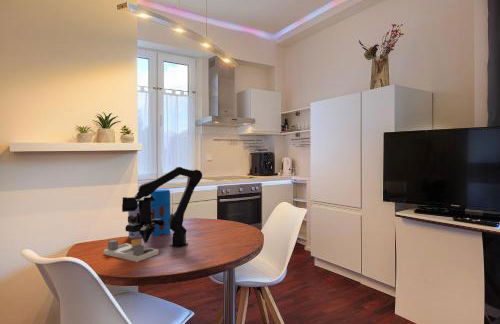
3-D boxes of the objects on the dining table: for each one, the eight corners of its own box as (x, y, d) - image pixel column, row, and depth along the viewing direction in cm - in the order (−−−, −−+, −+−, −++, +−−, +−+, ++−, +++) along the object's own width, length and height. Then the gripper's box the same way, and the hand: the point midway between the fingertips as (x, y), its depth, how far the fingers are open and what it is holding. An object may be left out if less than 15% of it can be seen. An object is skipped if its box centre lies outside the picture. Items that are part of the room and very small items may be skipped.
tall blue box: (171, 234, 176) (171, 190, 176) (151, 236, 172) (151, 191, 172) (169, 230, 186) (168, 189, 186) (150, 232, 182) (149, 190, 182)
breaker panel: (125, 247, 152) (125, 236, 152) (158, 253, 141) (158, 241, 141) (103, 254, 142) (103, 241, 142) (137, 261, 131) (136, 248, 131)
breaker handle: (136, 245, 146) (136, 238, 146) (141, 246, 145) (141, 239, 145) (131, 247, 144) (131, 239, 144) (136, 248, 142) (135, 240, 142)
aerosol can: (140, 238, 170) (140, 201, 169) (126, 238, 169) (125, 201, 169) (145, 234, 178) (144, 199, 177) (131, 234, 177) (130, 199, 177)
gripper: (148, 206, 161) (148, 236, 161) (117, 212, 145) (117, 245, 145) (164, 208, 155) (164, 239, 156) (133, 214, 139) (134, 248, 139)
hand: (145, 242), depth 149 cm, fingers closed
